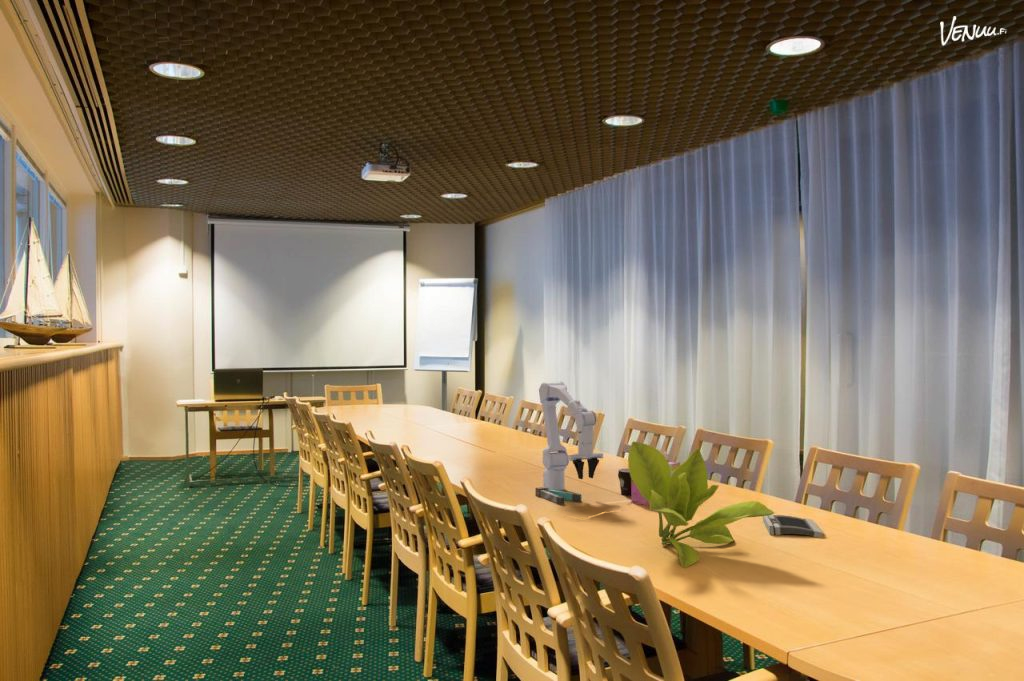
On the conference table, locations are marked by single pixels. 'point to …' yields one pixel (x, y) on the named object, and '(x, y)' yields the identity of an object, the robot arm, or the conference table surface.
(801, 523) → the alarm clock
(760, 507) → the artificial plant
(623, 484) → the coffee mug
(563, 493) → the bar
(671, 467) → the gum box
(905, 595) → the conference table surface
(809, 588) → the conference table surface
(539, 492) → the tongs base
